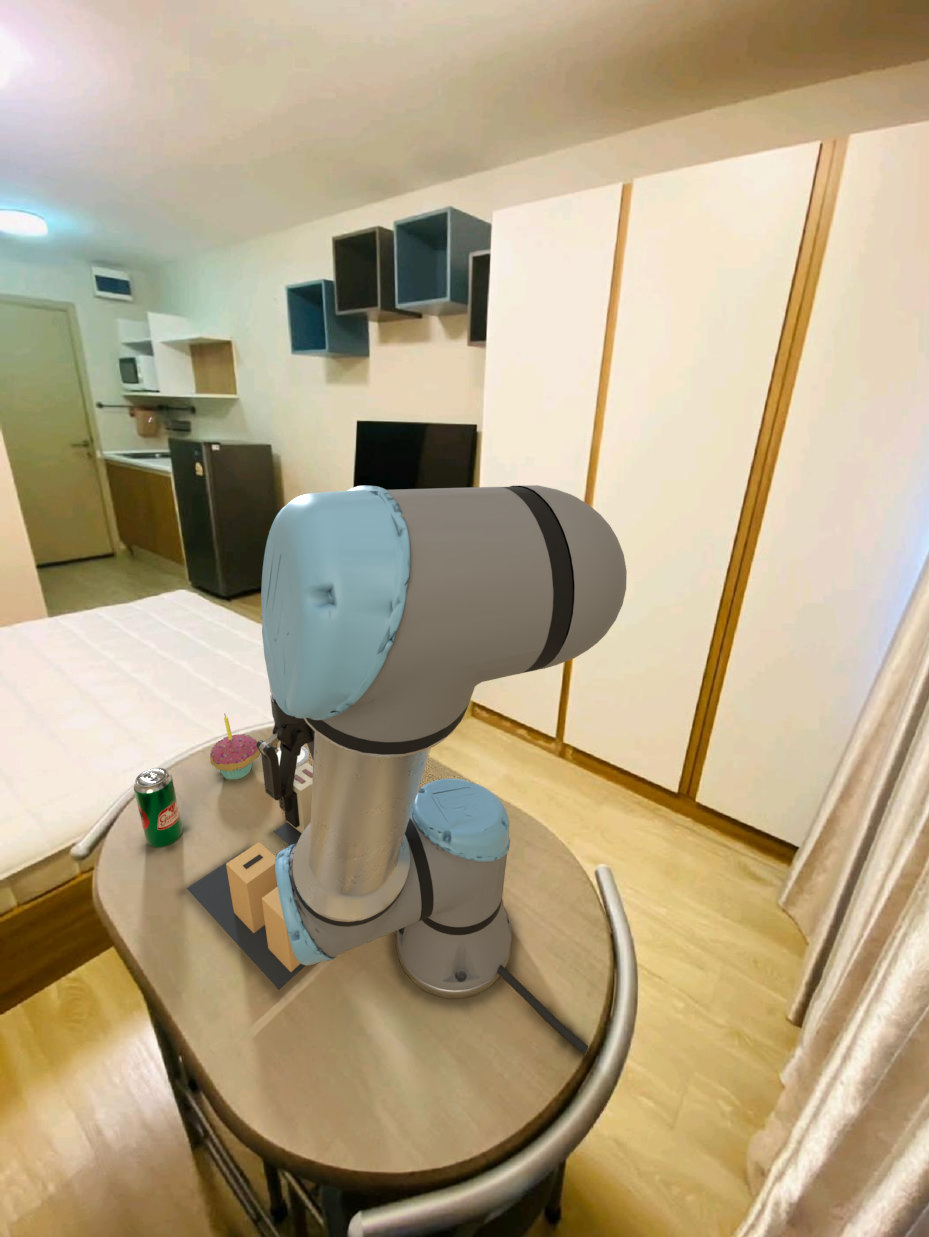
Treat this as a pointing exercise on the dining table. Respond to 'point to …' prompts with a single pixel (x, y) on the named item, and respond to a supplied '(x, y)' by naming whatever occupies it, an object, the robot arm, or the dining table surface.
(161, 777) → the soda can
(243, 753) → the cupcake
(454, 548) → the robot arm
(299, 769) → the cream block
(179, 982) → the dining table surface
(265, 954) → the left word board
